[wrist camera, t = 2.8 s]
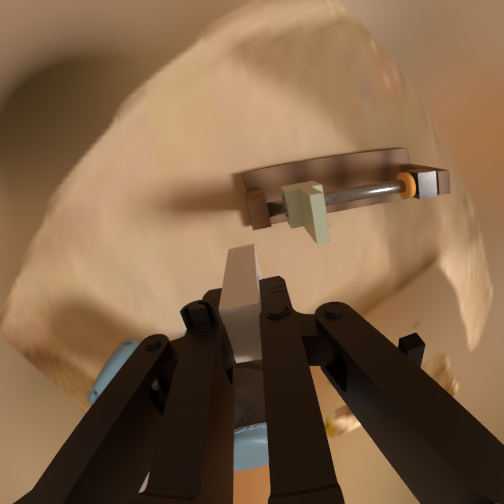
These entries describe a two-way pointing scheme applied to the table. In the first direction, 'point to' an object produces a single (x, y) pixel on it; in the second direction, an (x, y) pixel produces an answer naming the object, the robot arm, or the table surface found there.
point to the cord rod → (371, 191)
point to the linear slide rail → (331, 180)
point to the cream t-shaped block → (307, 209)
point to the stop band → (407, 185)
